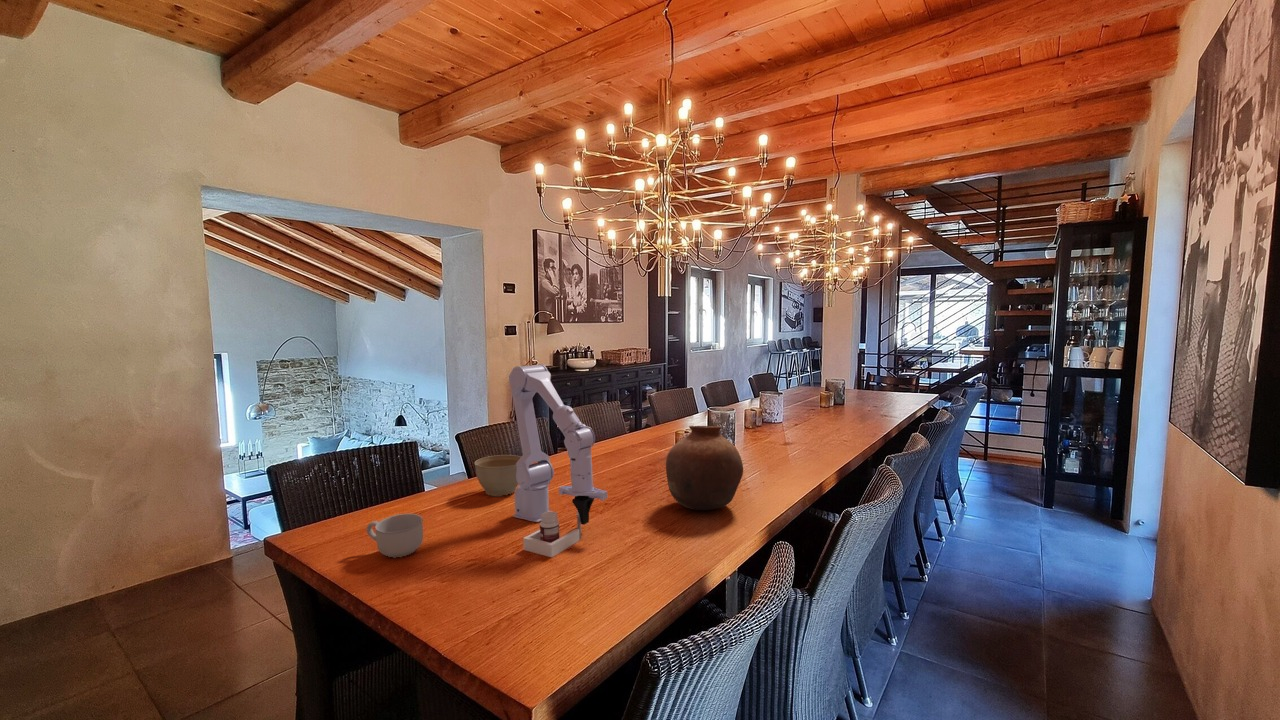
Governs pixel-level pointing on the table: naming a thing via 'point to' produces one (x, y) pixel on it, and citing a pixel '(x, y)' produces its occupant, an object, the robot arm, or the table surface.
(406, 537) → the teacup
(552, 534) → the pill bottle
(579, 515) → the channel cover
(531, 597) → the table surface
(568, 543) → the channel
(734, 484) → the pottery
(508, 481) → the planter bowl
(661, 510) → the table surface
